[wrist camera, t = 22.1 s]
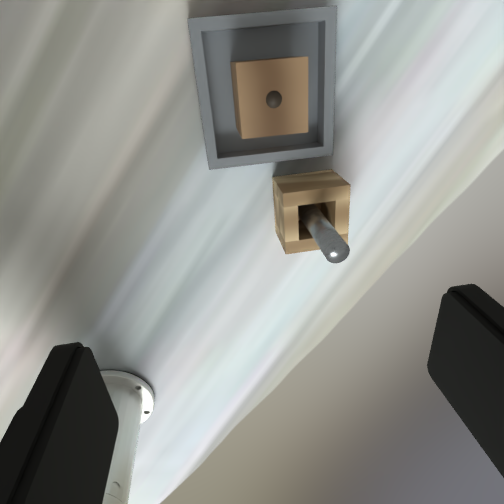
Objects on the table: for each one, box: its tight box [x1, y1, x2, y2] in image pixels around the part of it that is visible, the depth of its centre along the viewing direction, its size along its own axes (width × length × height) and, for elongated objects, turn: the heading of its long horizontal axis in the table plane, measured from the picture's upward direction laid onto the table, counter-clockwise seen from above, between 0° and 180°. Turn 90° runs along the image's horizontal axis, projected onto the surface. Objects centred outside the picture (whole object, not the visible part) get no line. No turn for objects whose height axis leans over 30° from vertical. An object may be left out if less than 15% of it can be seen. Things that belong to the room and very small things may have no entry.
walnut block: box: [230, 57, 308, 139], centre depth 33 cm, size 6×6×6 cm
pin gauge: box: [298, 204, 350, 263], centre depth 37 cm, size 2×2×12 cm
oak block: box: [272, 169, 350, 254], centre depth 40 cm, size 7×7×6 cm
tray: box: [187, 6, 337, 170], centre depth 35 cm, size 13×13×3 cm
